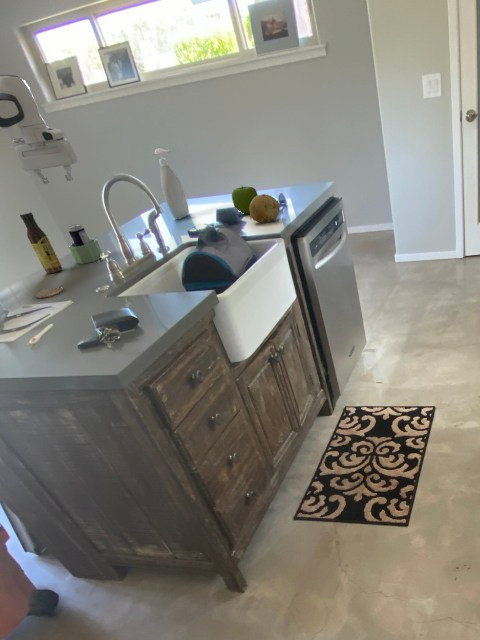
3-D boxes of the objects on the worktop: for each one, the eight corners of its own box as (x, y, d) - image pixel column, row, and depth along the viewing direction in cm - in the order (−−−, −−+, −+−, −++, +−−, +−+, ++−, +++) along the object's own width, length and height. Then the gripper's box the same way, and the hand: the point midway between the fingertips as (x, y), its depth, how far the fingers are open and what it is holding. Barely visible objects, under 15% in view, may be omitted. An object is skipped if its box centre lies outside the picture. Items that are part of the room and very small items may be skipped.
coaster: (33, 300, 173) (32, 299, 173) (39, 291, 180) (38, 290, 180) (60, 294, 174) (60, 293, 174) (65, 286, 181) (65, 285, 181)
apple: (233, 217, 229) (225, 189, 222) (243, 211, 237) (235, 183, 230) (255, 215, 227) (248, 187, 219) (265, 209, 234) (258, 181, 227)
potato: (257, 219, 221) (250, 193, 214) (285, 217, 218) (279, 190, 211) (249, 226, 213) (242, 199, 207) (277, 224, 211) (271, 196, 204)
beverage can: (94, 256, 208) (79, 223, 200) (99, 258, 205) (84, 224, 197) (80, 260, 205) (64, 227, 197) (85, 262, 202) (69, 228, 194)
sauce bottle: (58, 273, 195) (28, 214, 182) (43, 275, 196) (11, 216, 182) (66, 267, 200) (37, 210, 187) (51, 269, 201) (21, 212, 187)
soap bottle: (183, 220, 237) (159, 150, 219) (168, 222, 239) (143, 152, 220) (198, 212, 247) (176, 144, 229) (183, 213, 249) (160, 146, 231)
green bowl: (75, 265, 201) (67, 248, 197) (79, 258, 208) (72, 242, 204) (101, 260, 202) (93, 243, 198) (104, 253, 209) (97, 237, 205)
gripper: (4, 141, 177) (27, 187, 186) (58, 132, 174) (79, 180, 184) (14, 138, 181) (37, 183, 191) (67, 130, 179) (87, 176, 188)
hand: (58, 182), depth 187 cm, fingers open, 8 cm apart
